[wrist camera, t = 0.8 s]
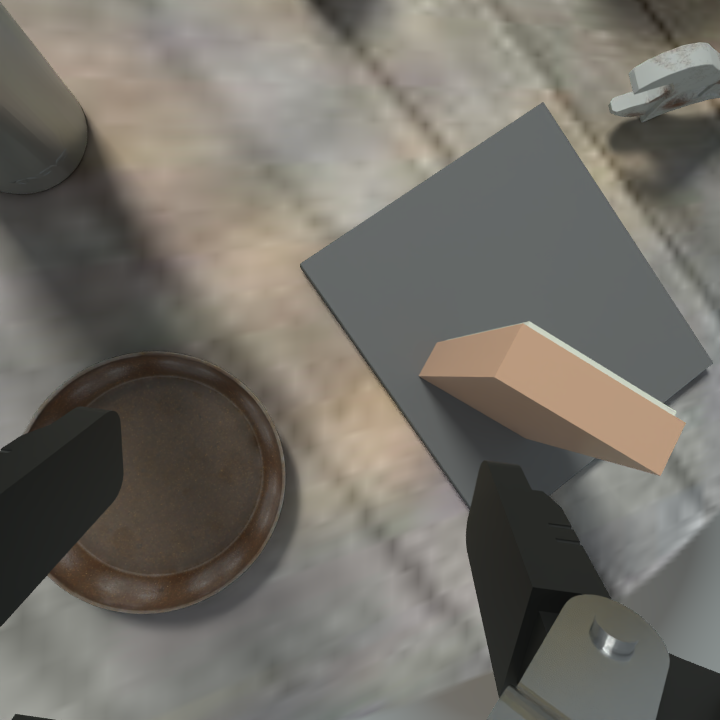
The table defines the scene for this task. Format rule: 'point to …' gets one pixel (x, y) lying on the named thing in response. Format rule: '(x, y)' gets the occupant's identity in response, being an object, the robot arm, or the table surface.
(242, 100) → the table surface
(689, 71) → the wrench
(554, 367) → the tan rectangular block
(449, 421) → the mat
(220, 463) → the plant saucer
